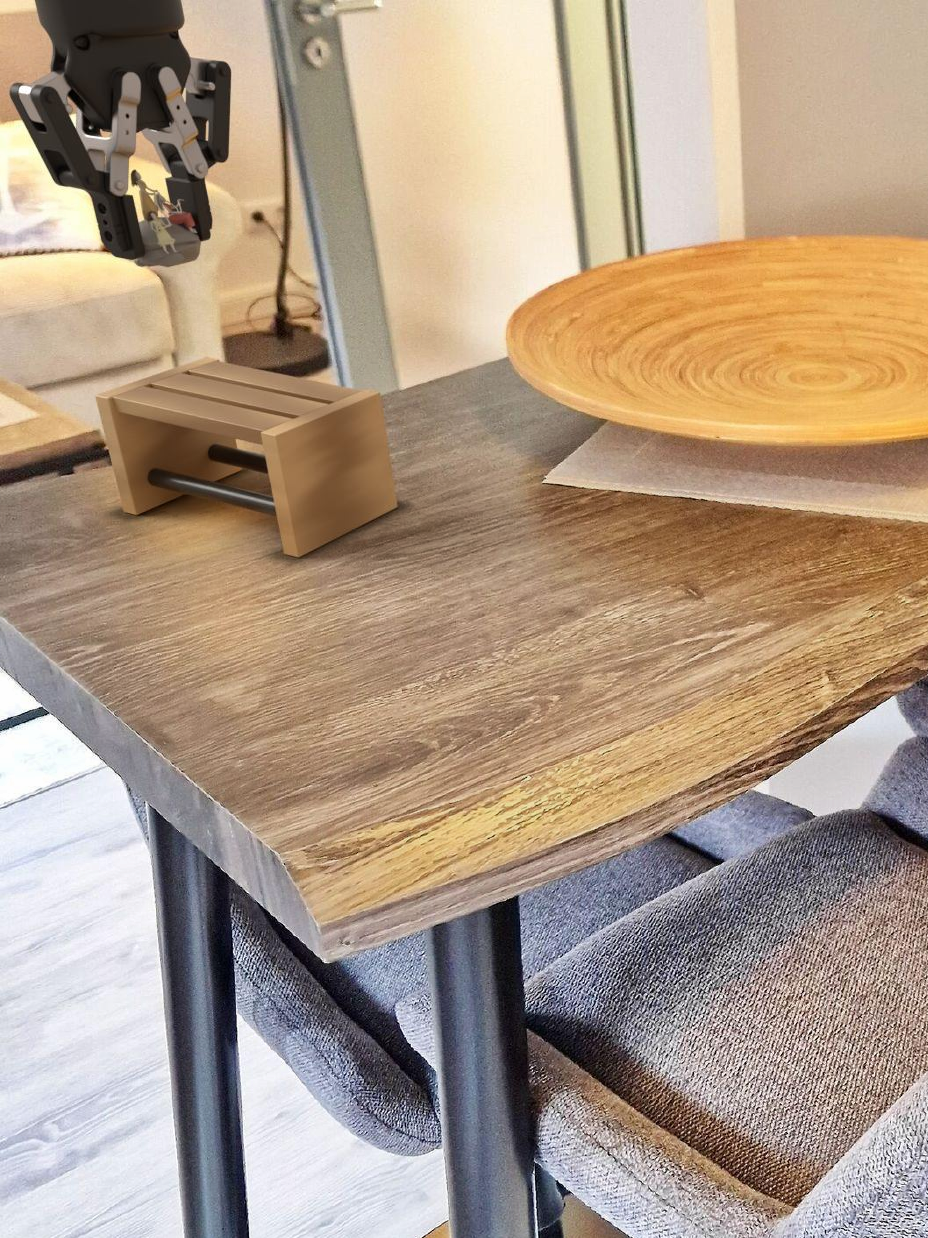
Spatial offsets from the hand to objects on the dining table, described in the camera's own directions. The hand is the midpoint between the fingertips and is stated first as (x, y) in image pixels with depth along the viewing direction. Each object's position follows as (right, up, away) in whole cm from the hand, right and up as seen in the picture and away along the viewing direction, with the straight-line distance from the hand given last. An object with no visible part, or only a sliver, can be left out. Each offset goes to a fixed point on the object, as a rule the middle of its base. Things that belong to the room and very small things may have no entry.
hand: (161, 247), depth 92 cm
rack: (+3, -15, +7) cm, 17 cm away
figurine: (0, -1, +1) cm, 1 cm away
